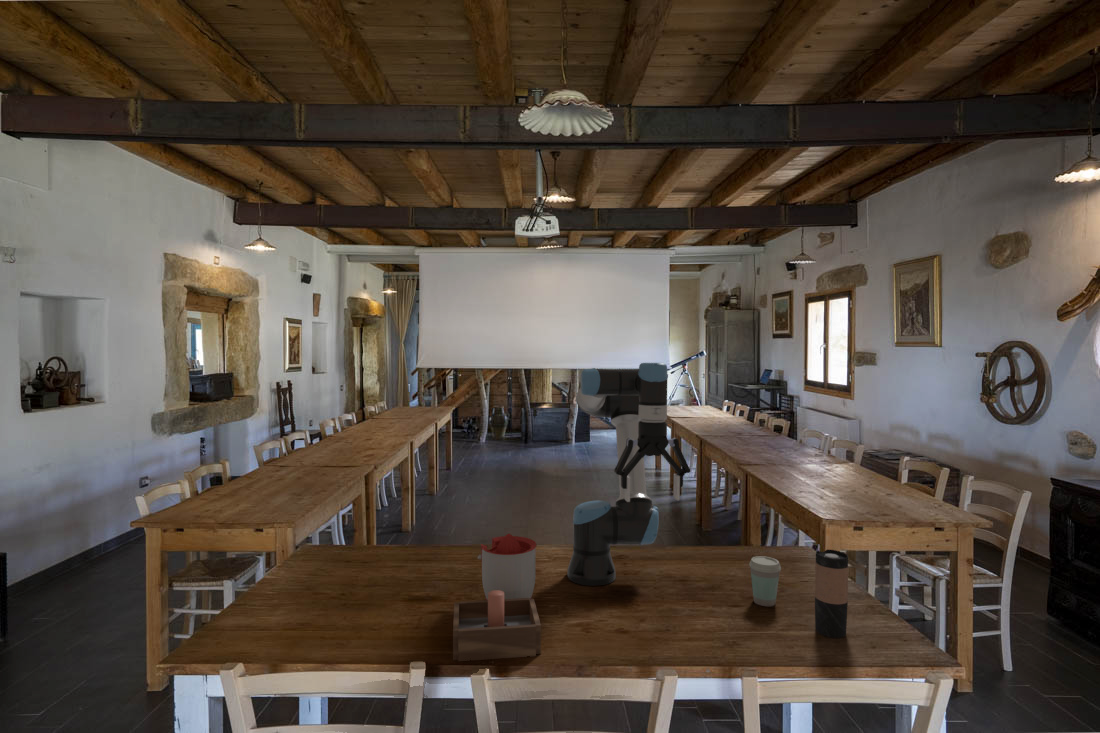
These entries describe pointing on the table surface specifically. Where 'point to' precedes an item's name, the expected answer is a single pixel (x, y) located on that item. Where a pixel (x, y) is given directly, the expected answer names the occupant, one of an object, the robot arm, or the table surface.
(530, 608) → the open box
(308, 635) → the table surface
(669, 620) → the table surface
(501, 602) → the peg
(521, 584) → the citrus juicer
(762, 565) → the coffee cup
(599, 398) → the robot arm
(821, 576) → the travel mug
